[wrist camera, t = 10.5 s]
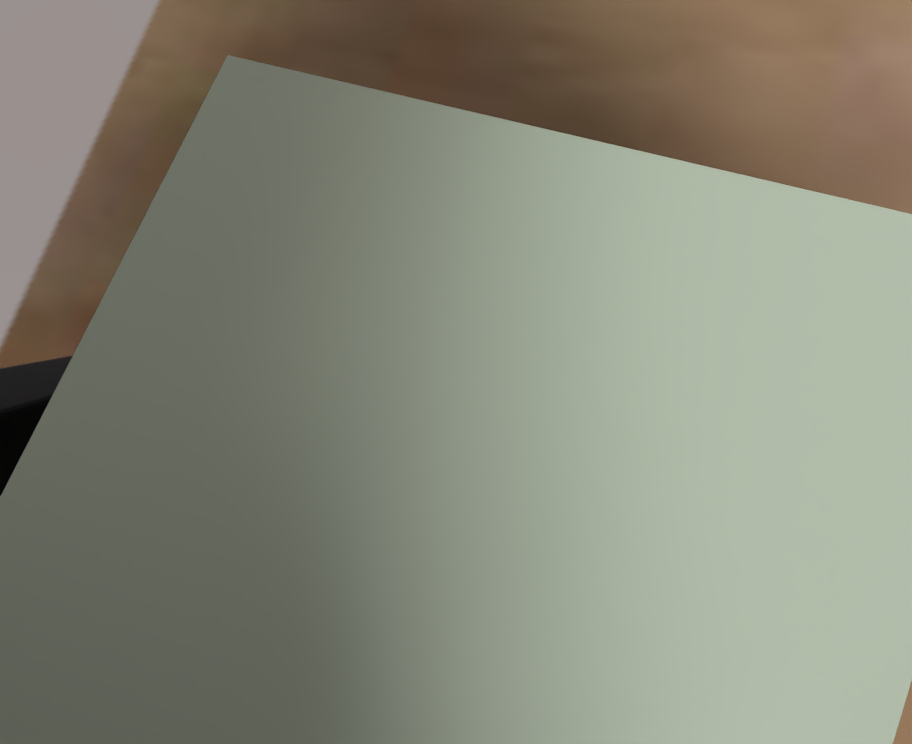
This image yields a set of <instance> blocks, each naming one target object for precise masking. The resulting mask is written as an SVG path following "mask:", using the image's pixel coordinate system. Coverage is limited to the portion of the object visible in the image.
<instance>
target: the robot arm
mask: <svg viewBox="0 0 912 744" xmlns="http://www.w3.org/2000/svg"><path fill="white" fill-rule="evenodd" d="M71 358H72V356H68V357H63V358H57V359H52V360H46V361H40V362H35V363H29V364H23V365H18V366H12V367H7V368H1V369H0V496H1V494H2V492H3V490H4V489H5V487H6V485H7V483H8V481H9V479H10V477H11V475H12V473H13V471H14V469H15V467H16V465H17V463H18V461H19V459H20V457H21V456H22V454H23V452H24V450H25V448H26V446H27V444H28V442H29V440H30V438H31V436H32V434H33V432H34V430H35V428H36V426H37V424H38V422H39V421H40V419H41V417H42V415H43V413H44V411H45V409H46V407H47V405H48V403H49V401H50V399H51V397H52V395H53V393H54V391H55V389H56V388H57V386H58V384H59V382H60V380H61V378H62V376H63V374H64V372H65V370H66V368H67V366H68V364H69V362H70V360H71Z"/></svg>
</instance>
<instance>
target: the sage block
mask: <svg viewBox="0 0 912 744" xmlns="http://www.w3.org/2000/svg"><path fill="white" fill-rule="evenodd" d="M911 681H912V214H909V213H904V212H900V211H896V210H892V209H887V208H883V207H879V206H874V205H870V204H866V203H861V202H857V201H853V200H849V199H844V198H840V197H836V196H831V195H827V194H823V193H819V192H814V191H810V190H806V189H801V188H797V187H793V186H788V185H784V184H780V183H776V182H771V181H767V180H763V179H758V178H754V177H750V176H746V175H741V174H737V173H733V172H728V171H724V170H720V169H715V168H711V167H707V166H703V165H698V164H694V163H690V162H685V161H681V160H677V159H673V158H668V157H664V156H660V155H655V154H651V153H647V152H642V151H638V150H634V149H630V148H625V147H621V146H617V145H612V144H608V143H604V142H600V141H595V140H591V139H587V138H582V137H578V136H574V135H569V134H565V133H561V132H557V131H552V130H548V129H544V128H539V127H535V126H531V125H527V124H522V123H518V122H514V121H509V120H505V119H501V118H496V117H492V116H488V115H484V114H479V113H475V112H471V111H466V110H462V109H458V108H454V107H449V106H445V105H441V104H436V103H432V102H428V101H423V100H419V99H415V98H411V97H406V96H402V95H398V94H393V93H389V92H385V91H381V90H376V89H372V88H368V87H363V86H359V85H355V84H350V83H346V82H342V81H338V80H333V79H329V78H325V77H320V76H316V75H312V74H308V73H303V72H299V71H295V70H290V69H286V68H282V67H277V66H273V65H269V64H265V63H260V62H256V61H252V60H247V59H243V58H239V57H235V56H230V55H227V57H226V59H225V61H224V63H223V65H222V67H221V69H220V71H219V73H218V75H217V77H216V79H215V81H214V82H213V84H212V86H211V88H210V90H209V92H208V94H207V96H206V98H205V100H204V102H203V104H202V106H201V108H200V110H199V112H198V114H197V116H196V117H195V119H194V121H193V123H192V125H191V127H190V129H189V131H188V133H187V135H186V137H185V139H184V141H183V143H182V145H181V147H180V149H179V150H178V152H177V154H176V156H175V158H174V160H173V162H172V164H171V166H170V168H169V170H168V172H167V174H166V176H165V178H164V180H163V182H162V184H161V185H160V187H159V189H158V191H157V193H156V195H155V197H154V199H153V201H152V203H151V205H150V207H149V209H148V211H147V213H146V215H145V217H144V218H143V220H142V222H141V224H140V226H139V228H138V230H137V232H136V234H135V236H134V238H133V240H132V242H131V244H130V246H129V248H128V250H127V252H126V253H125V255H124V257H123V259H122V261H121V263H120V265H119V267H118V269H117V271H116V273H115V275H114V277H113V279H112V281H111V283H110V285H109V286H108V288H107V290H106V292H105V294H104V296H103V298H102V300H101V302H100V304H99V306H98V308H97V310H96V312H95V314H94V316H93V318H92V320H91V321H90V323H89V325H88V327H87V329H86V331H85V333H84V335H83V337H82V339H81V341H80V343H79V345H78V347H77V349H76V351H75V353H74V354H73V356H72V358H71V360H70V362H69V364H68V366H67V368H66V370H65V372H64V374H63V376H62V378H61V380H60V382H59V384H58V386H57V388H56V389H55V391H54V393H53V395H52V397H51V399H50V401H49V403H48V405H47V407H46V409H45V411H44V413H43V415H42V417H41V419H40V421H39V422H38V424H37V426H36V428H35V430H34V432H33V434H32V436H31V438H30V440H29V442H28V444H27V446H26V448H25V450H24V452H23V454H22V456H21V457H20V459H19V461H18V463H17V465H16V467H15V469H14V471H13V473H12V475H11V477H10V479H9V481H8V483H7V485H6V487H5V489H4V490H3V492H2V494H1V496H0V744H893V741H894V737H895V734H896V731H897V727H898V724H899V721H900V717H901V714H902V711H903V707H904V704H905V701H906V697H907V694H908V691H909V687H910V684H911Z"/></svg>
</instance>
